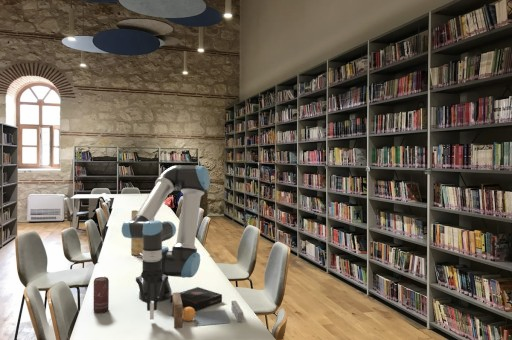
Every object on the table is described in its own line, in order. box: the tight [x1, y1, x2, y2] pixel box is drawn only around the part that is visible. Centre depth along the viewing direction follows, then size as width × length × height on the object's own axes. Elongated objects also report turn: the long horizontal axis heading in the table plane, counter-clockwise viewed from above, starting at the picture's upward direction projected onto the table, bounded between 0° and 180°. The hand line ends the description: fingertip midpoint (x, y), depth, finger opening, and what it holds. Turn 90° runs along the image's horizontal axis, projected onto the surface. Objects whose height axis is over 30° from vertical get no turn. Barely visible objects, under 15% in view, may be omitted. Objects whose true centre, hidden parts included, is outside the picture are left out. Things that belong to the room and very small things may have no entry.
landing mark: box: [193, 309, 231, 327], centre depth 173 cm, size 14×14×1 cm
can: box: [93, 276, 110, 314], centre depth 178 cm, size 6×6×14 cm
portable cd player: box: [169, 286, 223, 312], centre depth 191 cm, size 16×17×4 cm
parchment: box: [130, 209, 155, 256], centre depth 273 cm, size 23×6×30 cm, turn 43°
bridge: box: [171, 292, 183, 329], centre depth 169 cm, size 3×14×9 cm, turn 15°
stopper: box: [231, 300, 244, 323], centre depth 175 cm, size 14×2×4 cm, turn 15°
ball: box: [182, 307, 195, 322], centre depth 169 cm, size 6×6×6 cm
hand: (151, 318), depth 166 cm, fingers closed
